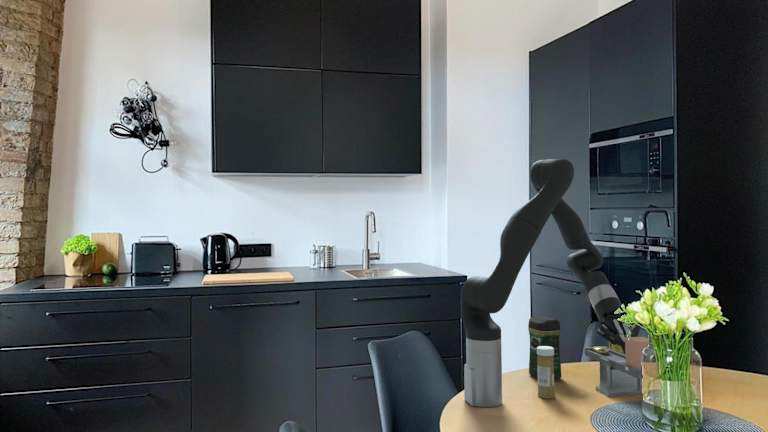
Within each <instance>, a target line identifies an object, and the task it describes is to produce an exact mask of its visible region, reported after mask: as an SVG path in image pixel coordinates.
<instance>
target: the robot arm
mask: <svg viewBox="0 0 768 432" xmlns="http://www.w3.org/2000/svg"><path fill="white" fill-rule="evenodd" d="M529 175H530V181H531V183H532V185H533V187H534V190H535V191H536V192H537V194H535V196H533V197H532V198H530V200H527V202H526V203H524V204H523V205H521V206H520V207H519V208H518V209H516V210H515V212H513V214H512V215H511V216H510V217H509V219H508V221H507V222H506V225H505V226H504V228H503V230H502V232H501V234H500V238H499V239H500V241H499V242H500V243H499V246H500V247H499V248H500V250H499V252H500V253H499V254H500V255H499V260H498V262H497V264H496V266H495V268H494V270H493V271H492V273H491V274H490V276H488V277H487V276H481V275H479V276H478V275H477V276H475V275H474V276H471V277H469V278H467V279H466V280H465V282H464V283H463V286H462V289H461V312H462V314H461V315H462V325H463V328H464V329H465V338H466V339H465V341H466V342H465V346H466V347H465V348H466V349H465V350H466V351H465V352H466V354H465V355H466V356H465V357H466V359H465V361H466V363H464V365H463V372H464V373H463V375H464V376H463V383H464V387H463V388H464V391H463V392H464V394H463V395H464V400H465V401H466V402H467V403H468V404H469V406H470V407H479V408H494V407H499V406H501V405H502V404H503V385H502V384H503V375H502V374H503V372H502V369H503V367H502V364H503V363H502V362H503V361H502V359H503V358H502V329H501V326H500V325H498V323H496V322H495V321H494V319H492V317H491V314H496V313H498V312H500V311H501V310H502V309H503V308H504V307H505V305H506V303H507V302H508V300H509V297H510V295H511V293H512V289H513V287H514V285H515V283H516V280H517V278H518V275H519V274H520V271H521V269H522V268H523V266H524V264H525V262H526V259H528V256H529V254H530V252H531V250H532V249H533V247H534V246H535V244H536V242H537V240H538V238H540V237H539V236H540V235H541V233H542V232H543V231H542V230H543V229H544V227H545V225H546V223H547V222H548V220H549V218H550V216H552V218H553V219H554V221H555V223H556V226H557V227H558V230H559V232H560V235H561V237H562V239H563V242H564V244H565V246H566V248H567V249H569V250H573V251H575V252H573V253H571V254H569V255H568V256H567V257H566V266H567V268H568V269H569V271H570V272H571V274H573V275H574V276H575V277H576V278H577V280H579V282H580V283H581V284H582V285H583V287H584V290H585V291H586V293H587V295H588V298H589V301H590V304H591V305H592V308H593V310H594V313H595V314H596V316H597V319H598V321H599V322H600V325H599V327H598V329H597V330H596V333H597V334H598V335H599V336H601V337H602V338H604V339H605V340H606V341H607V342H608V343H609V342H610V343H612V344H613V345H616V344H617V345H619V346H621V348H622V350H623V352H624V354H625V337H627V335H628V331H630V337H639V333H640V330H641V327H640V326H641V325H640V326H633V325H632V326H630V327H628V326H627V325H626V324H625V323H623V322H620V321H618V320H617V319H618V318H620V317H621V316H622V315H624V313H621V314H614V312H615V311H616V310H617V309H618V308H619V307H620V306H621V305H622V303H621V300H620V299H619V297H618V295H617V293H616V291H615V289H614V288H613V287H612V286H611V284H610V282H609V279H608V278H607V276H606V275H605V273H604V272H603V271H600V270H597V269H600V268H601V267H602V266H603V264H604V257H603V255H602V254H601V252H600V250H599V249H598V248H597V246H595V245H594V243H593V242H592V241H591V239H590V238H589V235H588V233H587V231H586V228H585V226H584V223H583V221H582V219H581V217H580V216H579V215H578V213H576V211H575V210H574V209H573V208H572V207H571V206H570V205H569V204H568V203H567V202H566V201H565V199H563V197H564V196H565V195H566V193H567V192H568V190H569V188H570V187H571V184H572V182H573V180H574V175H575V168H574V165H573V163H572V162H571V161H570V160H568V159H565V158H547V159H539V160H536V161H534V163H533V164H532V166H531V167H530V172H529ZM576 250H578V251H576ZM611 337H612V338H613V339H612V338H611Z"/></svg>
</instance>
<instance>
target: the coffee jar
mask: <svg viewBox="0 0 768 432" xmlns="http://www.w3.org/2000/svg"><path fill="white" fill-rule="evenodd" d="M527 329H528V334H529V361H528V374H529V375H530V377H533V378H536V379H537V380H538V370H537V365H538V356H537V347H539V346H550V347H553V348H554V357H553V361H554V382H555V381H558V380H560V379H561V378H562V362H561V351H560V336H561V332H562V331H561V330H562V328H561V322H560V321H559V320H558V319H556V318H552V317H549V316H545V315H534V316H530V318H529V319H528V327H527Z"/></svg>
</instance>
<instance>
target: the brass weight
mask: <svg viewBox="0 0 768 432" xmlns="http://www.w3.org/2000/svg"><path fill="white" fill-rule="evenodd" d="M592 347H593V352H595V353H598V354H600V355H609V347H608V346H599V345H597V346H592ZM607 347H608V348H607Z"/></svg>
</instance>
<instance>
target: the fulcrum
mask: <svg viewBox="0 0 768 432" xmlns="http://www.w3.org/2000/svg"><path fill="white" fill-rule="evenodd" d="M595 391H597V392H598V393H600V394H602V395H603V396H606V397H607V398H610V397H611V398H613V397H626V396H639V395H641V396H642V395H643V394H642V379H638V378H635V377H633V376H631V375H629V374H626V373H624V372H622V371H620V370H617V369H615V368H613V367H610V361H609V360H607V359H605V358H603V357H600V362H599V386H595Z"/></svg>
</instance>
